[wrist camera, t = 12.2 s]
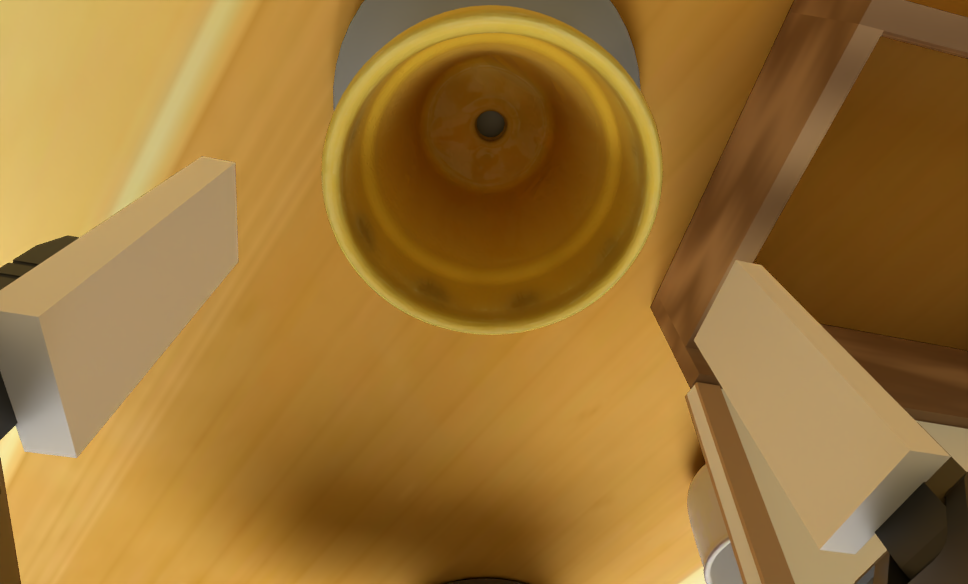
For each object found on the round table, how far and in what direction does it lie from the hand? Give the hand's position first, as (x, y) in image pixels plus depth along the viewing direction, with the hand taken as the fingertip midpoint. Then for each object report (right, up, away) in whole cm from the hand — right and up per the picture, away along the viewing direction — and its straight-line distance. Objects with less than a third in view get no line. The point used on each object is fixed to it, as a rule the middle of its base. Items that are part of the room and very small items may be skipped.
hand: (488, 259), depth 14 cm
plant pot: (0, +7, +10) cm, 13 cm away
